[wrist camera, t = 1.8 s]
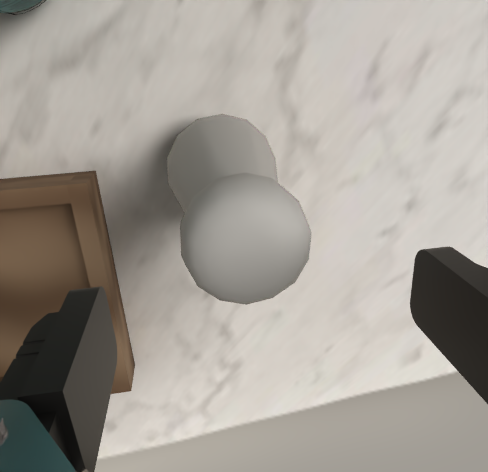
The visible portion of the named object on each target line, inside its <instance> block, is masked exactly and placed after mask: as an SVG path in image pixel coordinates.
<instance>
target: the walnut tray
mask: <svg viewBox="0 0 488 472" xmlns="http://www.w3.org/2000/svg"><path fill="white" fill-rule="evenodd" d="M101 286H102V287H103V288H104V290H105V292H106V296H107V300H108V305H109V310H110V314H111V319H112V324H113V328H114V333H115V337H116V343H117V366H116V371H115V375H114V380H113V385H112V390H111V394H114V393H121V392H128V391H131V388H132V381H133V375H134V368H135V363H134V358H133V353H132V348H131V343H130V338H129V334H128V329H127V324H126V319H125V314H124V309H123V304H122V299H121V294H120V289H119V284H118V279H117V274H116V269H115V264H114V259H113V254H112V249H111V245H110V240H109V235H108V230H107V225H106V220H105V215H104V210H103V205H102V200H101V195H100V190H99V185H98V180H97V175H96V171H88V172H76V173H65V174H53V175H42V176H30V177H19V178H7V179H0V382H1V380H2V379H3V377H4V375H5V373H6V371H7V370H8V368H9V366H10V364H11V363H12V361H13V359H16V354H17V352H18V350H19V348H20V347H21V346H22V345H23V341H24V339H25V338H26V336H27V334H28V332H29V331H30V329H31V327H32V326H33V325H35V324H36V323H37V322H38V321H39V320H41V319H42V318H43V317H44V316H45V315H46V314H48V313H54V312H59V310H60V308H61V306H62V304H63V302H64V300H65V298H66V296H67V294H68V292H69V291H70V290H75V289H84V288H92V287H101Z"/></svg>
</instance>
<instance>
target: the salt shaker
mask: <svg viewBox="0 0 488 472" xmlns="http://www.w3.org/2000/svg"><path fill="white" fill-rule="evenodd" d="M167 172H168V184H169V186H170V187H171V189H172V191H173V193H174V195H175V197H176V198H177V200H178V202H179V204H180V206H181V208H182V209H183V211H184V213H185V214H184V216H183V218H182V220H181V226H180V235H181V256H182V258H183V260H184V263H185V265H186V266H187V268H188V270H189V272H190V274H191V275H192V277H193V279H194V281H195V282H196V284H197V286H198V287H200V288H201V289H203V290H204V291H206V292H208V293H209V294H211V295H212V296H214V297H216V298H217V299H219V300H222V301H228V302H234V303H240V304H250V303H254V302H258V301H262V300H266V299H270V298H273V297H275V296H276V295H277V294H279V293H280V292H282V291H283V290H285V289H286V288H287V287H289V286H290V285H292V284H293V283H295V281H296V280H297V278H298V276H299V275H300V273H301V271H302V269H303V268H304V266H305V264H306V263H307V261H308V259H309V250H310V242H311V230H310V227H309V224H308V221H307V219H306V217H305V214H304V212H303V210H302V207H301V205H300V203H299V201H298V200H297V199H296V198H295V197H294V196H293V195H292V194H291V193H289V192H288V191H287V190H286V189H285V188H283V187H282V186H281V185H280V184H279V183H278V178H277V169H276V161H275V157H274V154H273V152H272V150H271V148H270V145H269V143H268V141H267V139H266V136H265V135H264V134H262V133H261V132H260V131H259V130H258V129H257V128H256V127H255V126H254V125H252V124H251V123H250V122H249V121H248V120H246V119H242V118H237V117H233V116H229V115H225V114H219V115H215V116H210V117H205V118H201V119H197V120H196V121H194V122H193V123H192V124H191V125H190V126H188V127H187V128H186V129H185V130H183V131H182V132H181V133H180V134H179V135H177V137H176V140H175V142H174V144H173V146H172V148H171V151H170V153H169V155H168V157H167Z"/></svg>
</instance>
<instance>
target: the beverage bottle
mask: <svg viewBox="0 0 488 472" xmlns="http://www.w3.org/2000/svg"><path fill="white" fill-rule="evenodd" d="M45 1H46V0H45ZM45 1H44V2H45ZM40 2H41V0H0V12H1V13H8V12H19V11H22V10H24V11H25V9H26V10H27V8H30V7H31V8H32V6H33V7H34V5H37V4H38V3H40ZM40 5H41V4H40ZM40 5H39V6H40ZM37 7H38V6H37ZM34 9H35V8H34ZM32 10H33V9H32ZM30 11H31V10H30ZM27 12H28V11H27ZM25 13H26V12H25ZM9 14H12V13H9ZM22 14H23V13H22ZM13 15H18V14H13Z"/></svg>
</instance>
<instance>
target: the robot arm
mask: <svg viewBox="0 0 488 472" xmlns="http://www.w3.org/2000/svg"><path fill="white" fill-rule="evenodd" d="M410 308H411V313H412V317H413V319H414V321H415V323H416V325H417V326H418V327H419V328H420V329H421V330H422V331H423V333H424V334H425V335H426V336H427V337H428V338H429V339H430V340H431V341H432V343H433V344H434V345H435V346H436V347H437V348H438V349H439V350H440V351H441V353H442V354H443V355H444V356H445V357H446V358H447V359H448V360H449V361H450V363H451V364H452V365H453V366H454V367H455V368H456V369H457V370H458V371H459V373H460V374H461V375H462V376H463V377H464V378H465V379H466V380H467V382H468V383H469V384H470V385H471V386H472V387H473V388H474V389H475V390H476V392H477V393H478V394H479V395H480V396H481V397H482V398H483V399H484V400H485V402H487V404H488V268H486V267H483V266H480V265H478V264H476V263H474V262H473V261H471V260H470V259H468V258H467V257H465V256H464V255H462V254H461V253H459V252H458V251H456V250H455V249H454V248H452V247H440V248H432V249H423V250H420V251H418V253H417V255H416V257H415V264H414V272H413V281H412V290H411V299H410ZM116 366H117V343H116V337H115V333H114V328H113V324H112V319H111V314H110V310H109V305H108V300H107V296H106V292H105V290H104V288H103V287H102V286H101V287H92V288H84V289H75V290H70V291H69V292H68V294H67V296H66V298H65V300H64V302H63V304H62V306H61V308H60V310H59V312H54V313H48V314H46V315H45V316H44V317H43V318H42V319H41V320H39V321H38V322H37V323H36V324H35V325H33V326H32V327H31V329H30V331H29V332H28V334H27V336H26V338H25V339H24V341H23V345H22V346H21V347H20V348H19V350H18V352H17V354H16V359H13V361H12V363H11V364H10V366H9V368H8V370H7V371H6V373H5V375H4V377H3V379H2V380H1V382H0V472H94V470H95V465H96V461H97V456H98V451H99V446H100V442H101V437H102V432H103V427H104V423H105V418H106V413H107V409H108V404H109V399H110V394H111V390H112V385H113V380H114V375H115V371H116Z"/></svg>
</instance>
